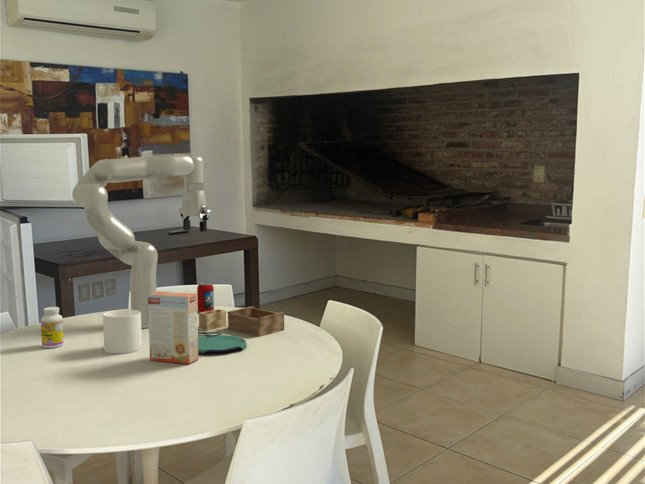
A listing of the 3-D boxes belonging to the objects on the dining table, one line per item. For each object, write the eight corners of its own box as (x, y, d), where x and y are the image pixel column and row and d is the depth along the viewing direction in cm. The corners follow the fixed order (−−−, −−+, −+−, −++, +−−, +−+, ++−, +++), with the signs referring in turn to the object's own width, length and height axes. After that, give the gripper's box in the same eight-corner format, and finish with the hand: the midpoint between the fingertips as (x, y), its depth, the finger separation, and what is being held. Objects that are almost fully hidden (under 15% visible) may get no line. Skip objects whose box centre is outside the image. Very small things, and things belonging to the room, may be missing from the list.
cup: (149, 346, 207) (148, 311, 205) (124, 355, 196) (123, 318, 195) (122, 342, 212) (121, 308, 210) (96, 351, 201) (95, 315, 200)
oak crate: (207, 331, 228) (207, 315, 227) (198, 328, 231) (198, 313, 231) (226, 326, 235) (226, 310, 234) (217, 324, 238) (217, 309, 238)
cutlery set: (193, 359, 193) (193, 352, 193) (173, 338, 220) (172, 331, 220) (254, 352, 202) (254, 345, 201) (227, 332, 229) (227, 326, 228)
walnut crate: (259, 336, 219) (259, 318, 219) (227, 329, 230) (227, 311, 229) (284, 329, 229) (284, 312, 229) (252, 322, 240) (252, 306, 239)
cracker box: (199, 359, 192) (198, 292, 190) (189, 365, 187) (187, 296, 184) (160, 355, 197) (158, 290, 195) (149, 360, 191) (147, 293, 189)
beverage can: (210, 313, 256) (209, 285, 255) (195, 313, 257) (194, 284, 256) (216, 310, 263) (216, 282, 261) (201, 309, 264) (200, 281, 263)
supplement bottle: (37, 347, 206) (35, 309, 204) (53, 342, 212) (52, 305, 210) (52, 349, 203) (50, 311, 201) (68, 344, 209) (66, 307, 207)
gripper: (172, 187, 249) (173, 230, 251) (201, 188, 239) (202, 232, 241) (187, 187, 255) (187, 228, 257) (216, 187, 245) (216, 231, 247)
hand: (194, 230), depth 249 cm, fingers open, 9 cm apart
